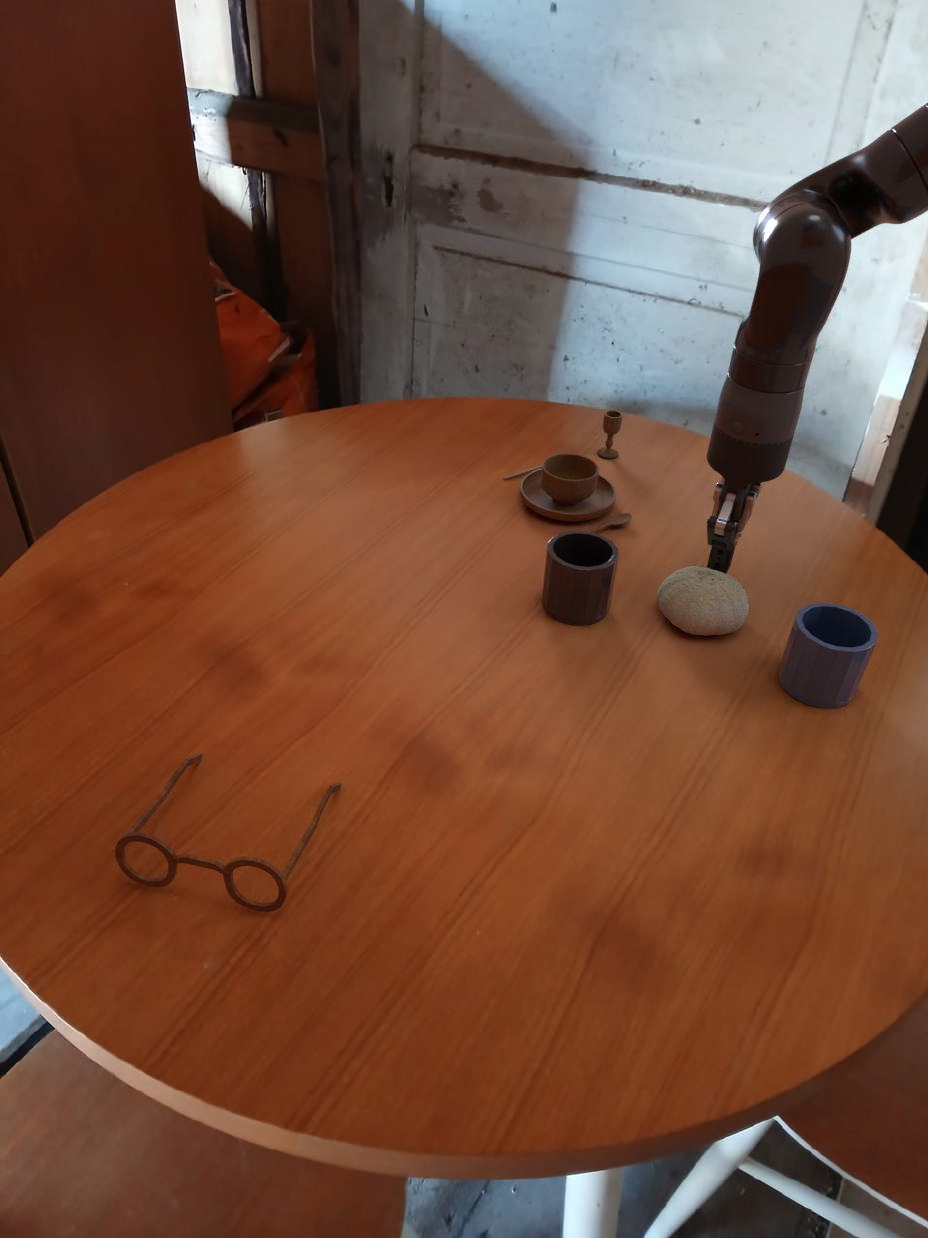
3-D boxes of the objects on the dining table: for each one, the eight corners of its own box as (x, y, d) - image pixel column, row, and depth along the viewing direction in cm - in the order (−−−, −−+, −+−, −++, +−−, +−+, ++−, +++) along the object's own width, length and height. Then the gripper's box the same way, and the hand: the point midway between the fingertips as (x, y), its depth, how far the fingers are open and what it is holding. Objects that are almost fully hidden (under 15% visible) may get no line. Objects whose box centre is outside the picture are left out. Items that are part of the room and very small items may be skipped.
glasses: (119, 882, 67) (105, 839, 64) (198, 756, 77) (189, 714, 74) (286, 921, 65) (280, 878, 62) (345, 786, 75) (342, 744, 72)
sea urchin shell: (683, 561, 99) (739, 539, 93) (716, 624, 100) (774, 607, 93) (633, 594, 94) (689, 573, 88) (668, 661, 95) (726, 645, 88)
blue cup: (859, 673, 89) (882, 617, 84) (848, 718, 84) (871, 660, 79) (785, 649, 91) (804, 594, 87) (770, 692, 86) (788, 635, 82)
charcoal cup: (618, 596, 97) (628, 542, 93) (594, 633, 92) (603, 577, 88) (557, 577, 100) (563, 523, 95) (530, 611, 95) (536, 556, 90)
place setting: (486, 481, 116) (489, 439, 112) (606, 445, 125) (611, 405, 121) (571, 547, 104) (577, 502, 101) (696, 502, 113) (705, 460, 110)
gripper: (779, 461, 80) (736, 613, 91) (808, 404, 89) (767, 548, 100) (697, 440, 83) (665, 591, 94) (734, 387, 92) (701, 530, 103)
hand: (718, 569), depth 97 cm, fingers closed
